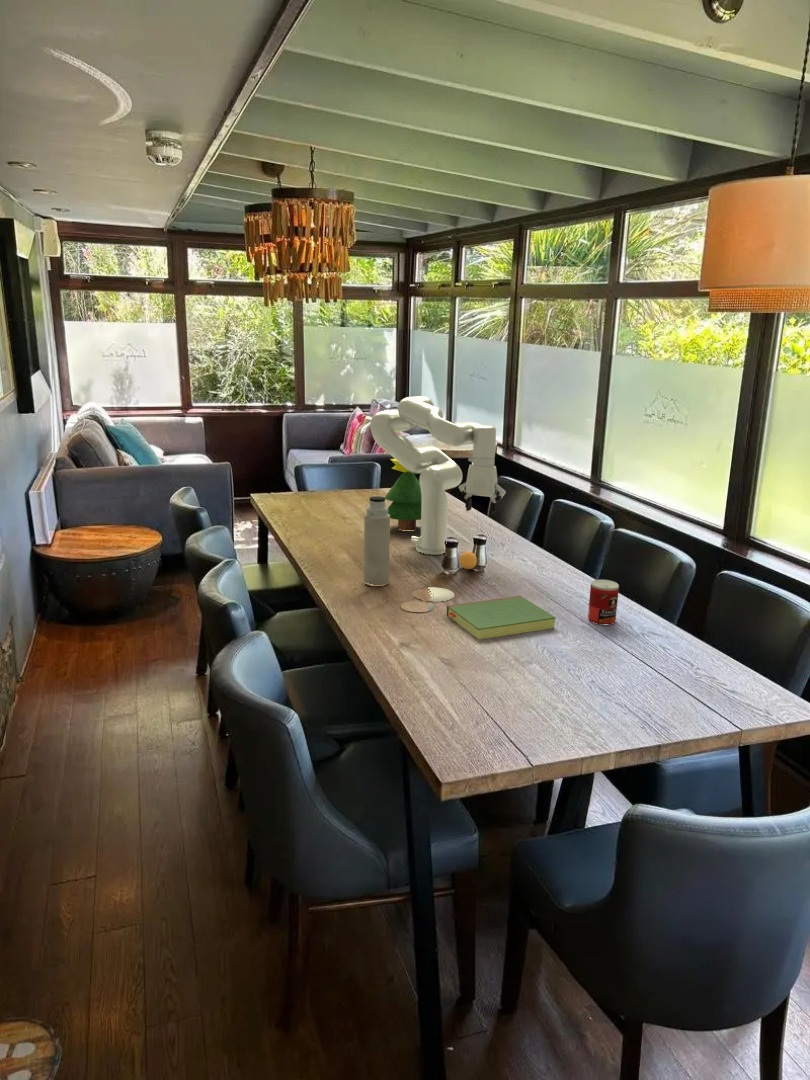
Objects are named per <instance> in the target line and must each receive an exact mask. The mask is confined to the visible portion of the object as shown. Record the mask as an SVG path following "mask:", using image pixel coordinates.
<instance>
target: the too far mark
mask: <svg viewBox="0 0 810 1080" xmlns="http://www.w3.org/2000/svg"><path fill="white" fill-rule="evenodd" d="M429 603H430V602H429ZM429 603H428V604H429ZM426 609H427V608H426ZM434 609H435V605H434V604H433V603H431V605H429V611H430V612H432V611H433V610H434ZM431 610H432V611H431Z"/></svg>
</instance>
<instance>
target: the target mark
mask: <svg viewBox="0 0 810 1080" xmlns="http://www.w3.org/2000/svg"><path fill="white" fill-rule="evenodd" d="M428 589H430V590H429V591H431V592H430V593H429V594H431V593H432V594H431V595H430V596H431V597H432V598H430V599H431V600H432V601H433V602H432V603H442V602H441V601H444V602H448V601H451V600H453V599H454V598H455V593H454V592H453V591H451V590H450V589H448V588H442V587H436V586H435V587H433V586H431V587H430V586H429V587H428ZM429 591H428V592H429ZM433 594H434V595H433ZM433 596H434V597H433ZM452 598H453V599H452ZM450 599H451V600H450ZM431 600H430V601H431ZM447 600H448V601H447Z"/></svg>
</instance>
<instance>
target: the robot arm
mask: <svg viewBox="0 0 810 1080" xmlns="http://www.w3.org/2000/svg"><path fill="white" fill-rule="evenodd" d="M443 417H444V414H443V411H442V409H441V408H439V407H437V406H435V405H434V402H433V401H432V399H431V398H429V397H427V396H425V395H417V396H416V395H414V396H408V397H404V398H403V399H401V400H400V401H399V403H398V405H397V408H396V409H389V410H388V409H387V410H382V411H378V412H376V413H375V414H374V415H373V416H372V417H371V419H370V427H369V428H370V432H371V435H372V438H373V440H374V441H375V442H376V445H378V446H379V447H380V448H382V449H383V451H385V452H387V453H388V454H389V455H390V456H391V457H392V458H393V459H396V460H397V461H398V462H399V463H400V464H401V465H403V466H404V467H405V468H406V469H407V470H408V471H410V472H411V473H413V474H414V475H416V474H419V483H420V488H421V499H422V503H421V520H420V536H415V535H412V536H411V537H410V538H411V539H410V540H411V543H412V544H417V545H416V546H415V550H416V551H417V552H418V553H420V552H421V553H420V554H423V553H424V555H429V554H430V555H434V556H436V555H437V556H439V555H444V554H443V552H444V542H445V540H446V539H447V535H448V534H447V533H448V513H449V512H448V511H449V510H448V507H449V506H448V504H449V503H448V497H447V495H446V492H445V491H446V490H450V489H454V488H456V487H457V486H458V489H459V491H460V492H461V495H462V496H463V498H464V500H465V503H464V505H465V509H466V510H465V511H466V512H468V511H471V510H472V505H473V504H472V503H473V500H472V499H473V498H471V497H472V496H478V497H479V496H480V497H489V498H490V500H491V502H490V513H489V514H491V515H494V514H495V513H496V512H497V509H498V507H497V506H498V501H500V500H501V499H502V498H503V497H504V496H505V494H506V493H507V492H506V490H505V489H504V488H502V487H501V486H500V485H499V484H498V473H497V466H496V465H495V457H496V443H497V442H496V439H497V437H496V436H497V429H496V427H495V426H494V425H489V424H480V423H477V422H475V421H474V422H473V421H467V422H459V423H453V422H451V421H449V420H445V419H443ZM416 426H418V427H421V428H422V429H425V430H426V431H429V433H430V435H431V436H432V437H433V438H434V439H436V440H438V441H439V442H441V443H444V444H446V445H449V446H452V447H461V446H467V445H472V456H469V457H468V462H471V464H469V467H468V470H467V476H466V481H465V482H464V483H462V480H463V472H462V469H461V468H460V466H459V465H458V464H457V463H456V462H455V460H452V458H450V457H449V456H448V455H447V454H445V453H444V451H442V450H441V449H440V448H438V447H436V446H433V445H422V446H419V445H416V444H414V443H413V442H412V441H410V440H409V439H408V438H407V437H406V436H403V435H402V434H400V433H402V432H407V431H409V430H411V429H413V428H415V427H416ZM461 483H462V484H461ZM498 492H499V494H498V495H497V493H498ZM446 541H447V540H446Z"/></svg>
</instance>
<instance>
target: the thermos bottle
mask: <svg viewBox="0 0 810 1080" xmlns="http://www.w3.org/2000/svg"><path fill="white" fill-rule="evenodd" d="M363 519H364V521H363V522H364V524H363V527H364V528H363V529H364V531H363V532H364V533H363V534H364V535H363V538H364V541H363V542H364V543H363V548H364V549H363V583H364V582H366V583H369V584H373V585H383V584H387V583H388V582H389V583H390V542H391V540H390V539H391V536H390V535H391V530H390V529H391V518H390V515H389V514H388V507H387V506H386V499H385V496H379V495H374V496H370V497H369V506H367V507H366V513H365V514H364V518H363Z"/></svg>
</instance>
